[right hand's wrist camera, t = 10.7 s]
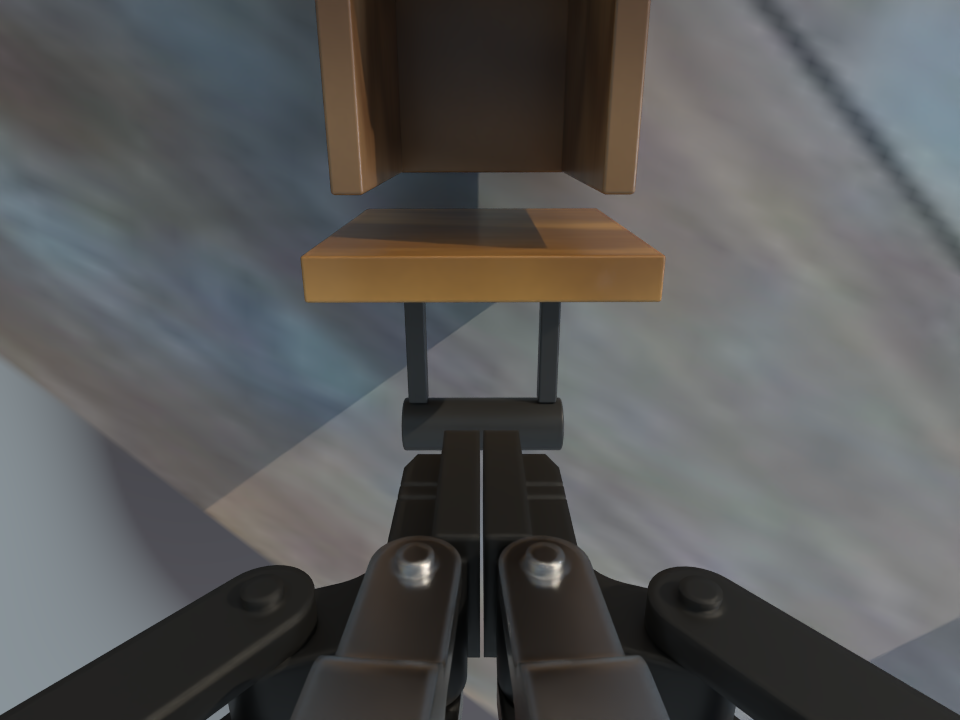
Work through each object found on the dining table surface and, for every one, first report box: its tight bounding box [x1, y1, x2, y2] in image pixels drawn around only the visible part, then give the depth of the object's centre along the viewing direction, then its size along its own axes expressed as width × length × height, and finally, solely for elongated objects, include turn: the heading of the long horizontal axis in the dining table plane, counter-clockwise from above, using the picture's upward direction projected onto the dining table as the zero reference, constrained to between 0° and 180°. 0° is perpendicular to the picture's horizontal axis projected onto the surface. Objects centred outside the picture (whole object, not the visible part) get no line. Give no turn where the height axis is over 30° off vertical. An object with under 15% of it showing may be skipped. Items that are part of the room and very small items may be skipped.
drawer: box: [301, 0, 666, 450], centre depth 18 cm, size 26×9×10 cm, turn 0°
